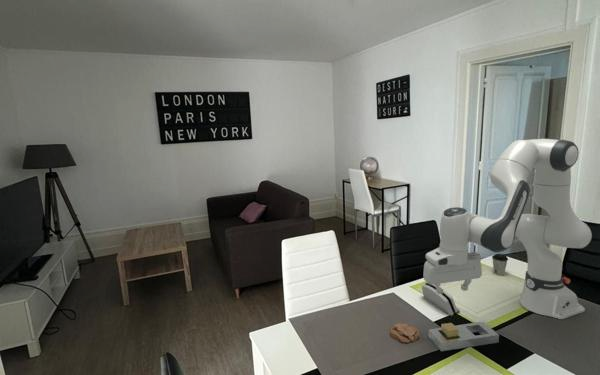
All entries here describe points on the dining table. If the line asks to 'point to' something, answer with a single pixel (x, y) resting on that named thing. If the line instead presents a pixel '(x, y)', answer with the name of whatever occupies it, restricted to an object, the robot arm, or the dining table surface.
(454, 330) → the wood grain block
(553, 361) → the dining table surface
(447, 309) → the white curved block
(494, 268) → the coffee cup
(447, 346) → the grey shape sorter tray
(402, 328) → the cookie
